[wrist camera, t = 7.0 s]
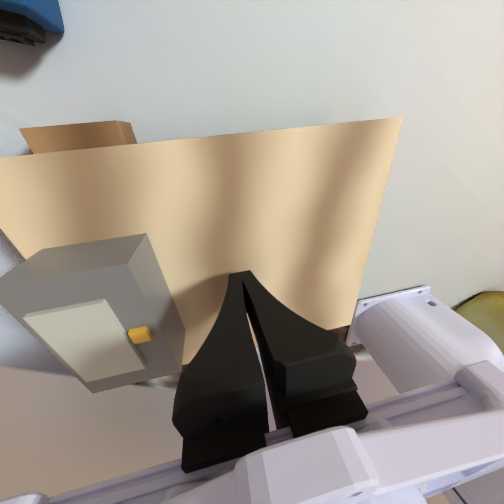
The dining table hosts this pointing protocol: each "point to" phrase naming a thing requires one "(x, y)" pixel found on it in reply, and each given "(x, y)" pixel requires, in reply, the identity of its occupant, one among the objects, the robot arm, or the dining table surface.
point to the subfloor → (213, 208)
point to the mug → (486, 315)
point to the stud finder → (99, 310)
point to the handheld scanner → (29, 20)
